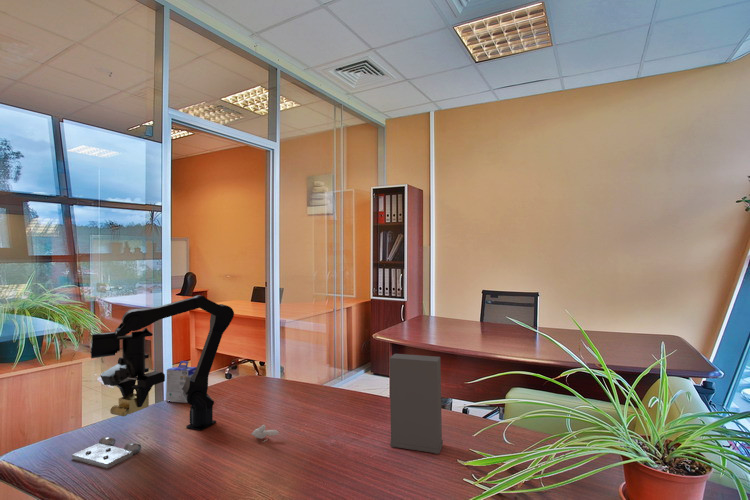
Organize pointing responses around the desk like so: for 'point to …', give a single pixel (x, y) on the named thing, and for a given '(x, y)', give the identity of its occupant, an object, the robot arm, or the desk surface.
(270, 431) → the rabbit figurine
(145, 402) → the brass leaf
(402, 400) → the upright charcoal grey block
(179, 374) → the ink cartridge box
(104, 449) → the steel leaf
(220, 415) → the desk surface
